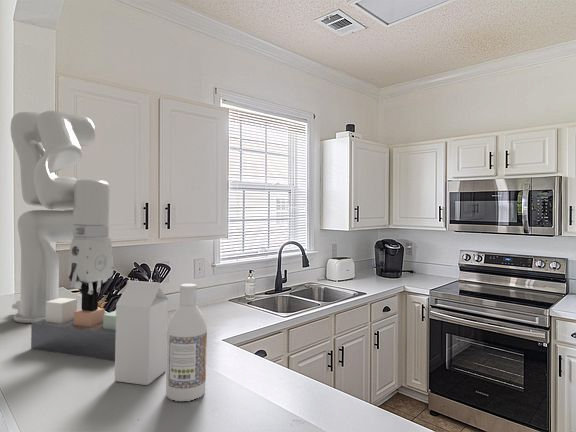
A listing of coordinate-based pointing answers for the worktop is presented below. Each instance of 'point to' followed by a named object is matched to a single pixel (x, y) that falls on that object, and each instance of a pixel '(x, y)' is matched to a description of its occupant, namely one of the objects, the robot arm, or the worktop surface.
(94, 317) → the peach key
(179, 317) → the bath foam
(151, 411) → the worktop surface
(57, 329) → the grey socket block
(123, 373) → the milk carton
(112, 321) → the pale green block
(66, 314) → the ivory key
